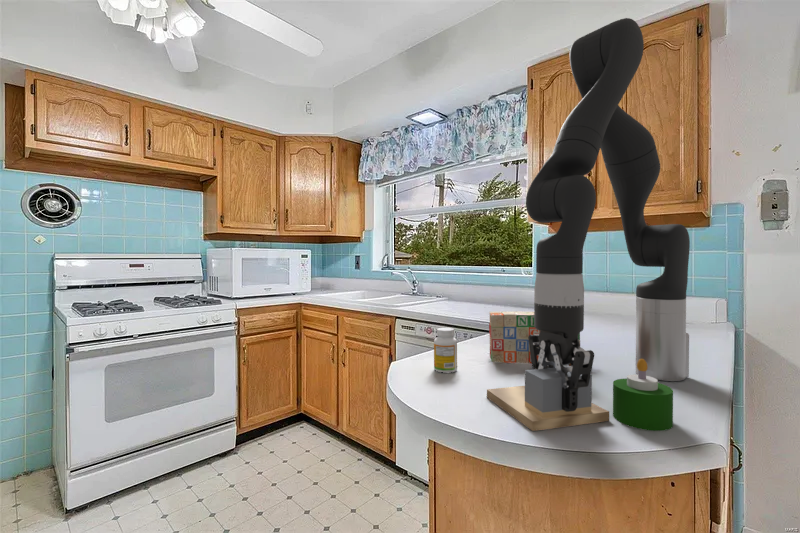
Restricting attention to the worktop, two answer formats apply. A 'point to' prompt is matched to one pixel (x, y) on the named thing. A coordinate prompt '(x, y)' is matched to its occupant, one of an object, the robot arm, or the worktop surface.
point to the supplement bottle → (445, 351)
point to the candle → (643, 401)
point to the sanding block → (552, 393)
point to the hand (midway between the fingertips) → (557, 403)
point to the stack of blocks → (511, 336)
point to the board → (515, 406)
